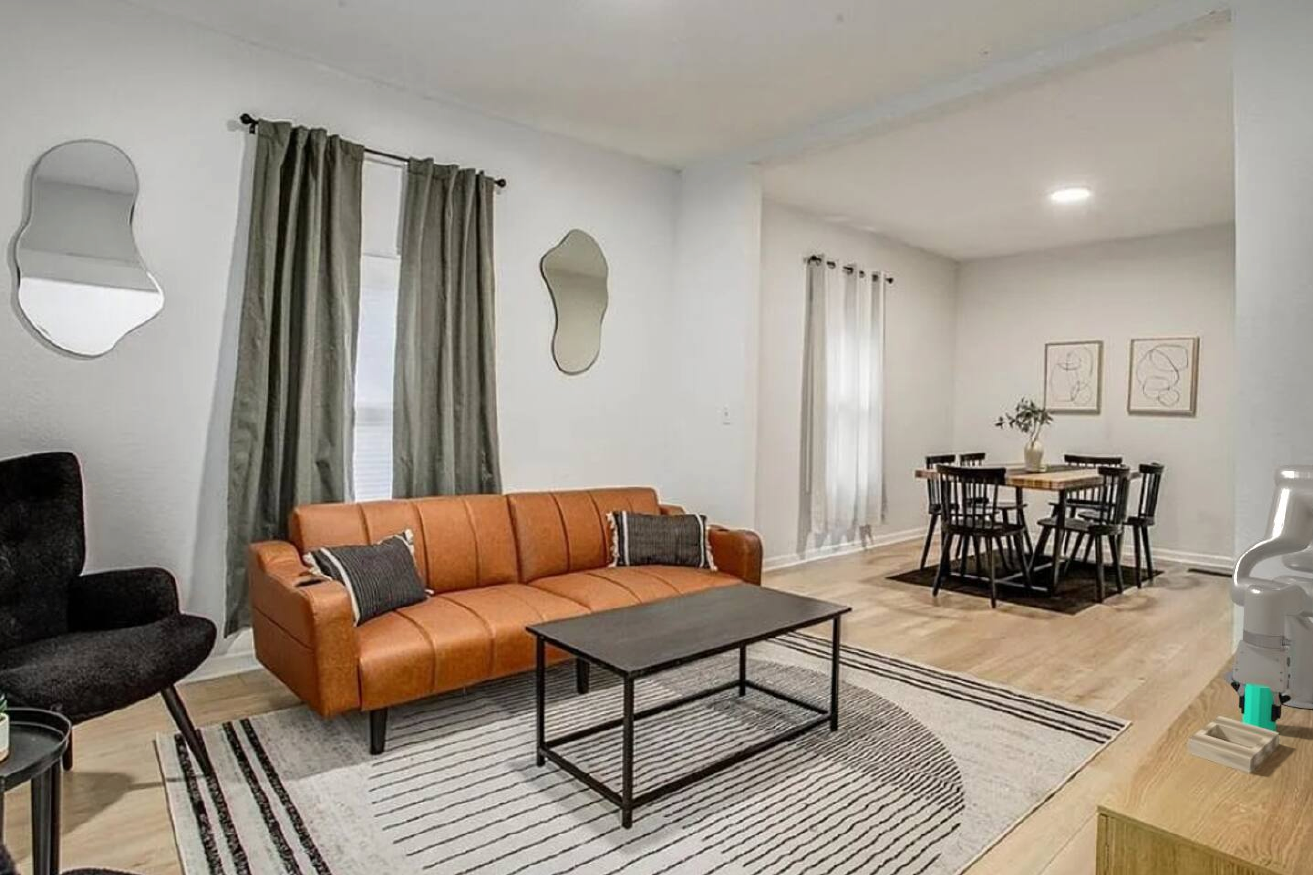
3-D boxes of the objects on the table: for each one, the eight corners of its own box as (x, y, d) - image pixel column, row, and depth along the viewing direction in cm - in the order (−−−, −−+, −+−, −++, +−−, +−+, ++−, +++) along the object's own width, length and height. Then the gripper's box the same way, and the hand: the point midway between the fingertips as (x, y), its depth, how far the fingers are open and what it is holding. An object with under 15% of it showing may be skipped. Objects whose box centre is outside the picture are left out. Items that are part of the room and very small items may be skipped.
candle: (1281, 734, 173) (1283, 683, 172) (1251, 732, 174) (1253, 681, 173) (1265, 723, 178) (1268, 673, 178) (1237, 721, 180) (1239, 671, 179)
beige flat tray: (1218, 728, 176) (1219, 715, 175) (1278, 745, 167) (1279, 732, 167) (1187, 752, 164) (1187, 739, 163) (1249, 773, 155) (1250, 759, 155)
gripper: (1315, 645, 170) (1310, 724, 172) (1224, 627, 184) (1221, 700, 185) (1306, 652, 166) (1301, 733, 167) (1213, 633, 179) (1210, 708, 180)
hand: (1259, 715), depth 176 cm, fingers closed on candle, 4 cm apart
